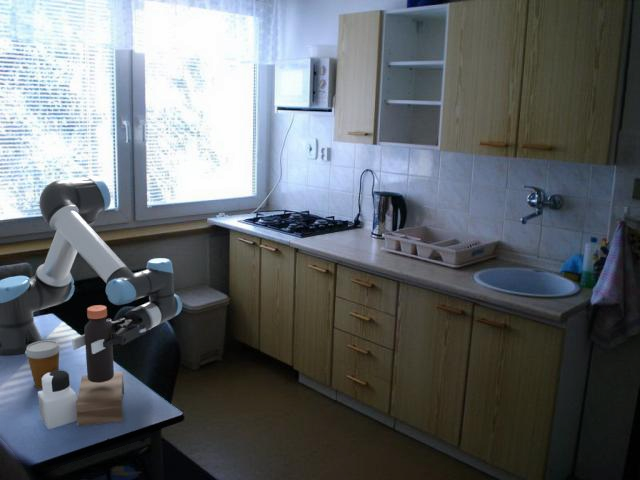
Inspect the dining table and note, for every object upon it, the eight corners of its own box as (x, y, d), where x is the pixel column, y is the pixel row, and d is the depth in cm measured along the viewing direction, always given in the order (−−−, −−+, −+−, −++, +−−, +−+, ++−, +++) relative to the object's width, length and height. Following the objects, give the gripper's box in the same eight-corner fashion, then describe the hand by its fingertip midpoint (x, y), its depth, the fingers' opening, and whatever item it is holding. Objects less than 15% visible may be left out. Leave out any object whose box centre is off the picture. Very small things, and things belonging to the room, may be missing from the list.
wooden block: (83, 395, 177) (82, 375, 175) (124, 390, 180) (122, 371, 178) (78, 426, 160) (76, 405, 159) (122, 420, 163) (121, 399, 162)
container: (69, 409, 169) (65, 365, 166) (79, 420, 163) (75, 374, 160) (39, 418, 164) (35, 372, 161) (48, 430, 158) (43, 383, 155)
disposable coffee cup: (50, 392, 178) (47, 353, 176) (21, 389, 180) (17, 350, 178) (70, 378, 188) (67, 340, 185) (42, 375, 189) (38, 338, 187)
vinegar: (117, 379, 168) (114, 309, 164) (92, 385, 164) (87, 314, 159) (109, 369, 173) (105, 302, 169) (84, 376, 169) (79, 306, 165)
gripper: (168, 335, 180) (112, 366, 159) (117, 326, 187) (57, 354, 166) (167, 311, 178) (110, 338, 157) (115, 302, 185) (54, 327, 165)
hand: (83, 346), depth 162 cm, fingers closed on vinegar, 6 cm apart
